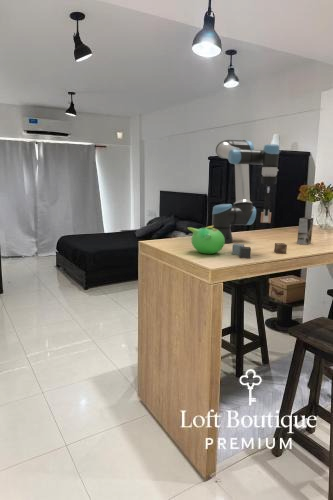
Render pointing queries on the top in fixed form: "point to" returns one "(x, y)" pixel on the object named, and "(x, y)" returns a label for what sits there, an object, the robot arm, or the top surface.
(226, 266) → the top surface
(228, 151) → the robot arm
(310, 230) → the coffee box
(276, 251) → the walnut cube
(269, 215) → the terracotta cube
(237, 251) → the slate grey cube
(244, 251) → the black rubber cube
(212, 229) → the toy bird
